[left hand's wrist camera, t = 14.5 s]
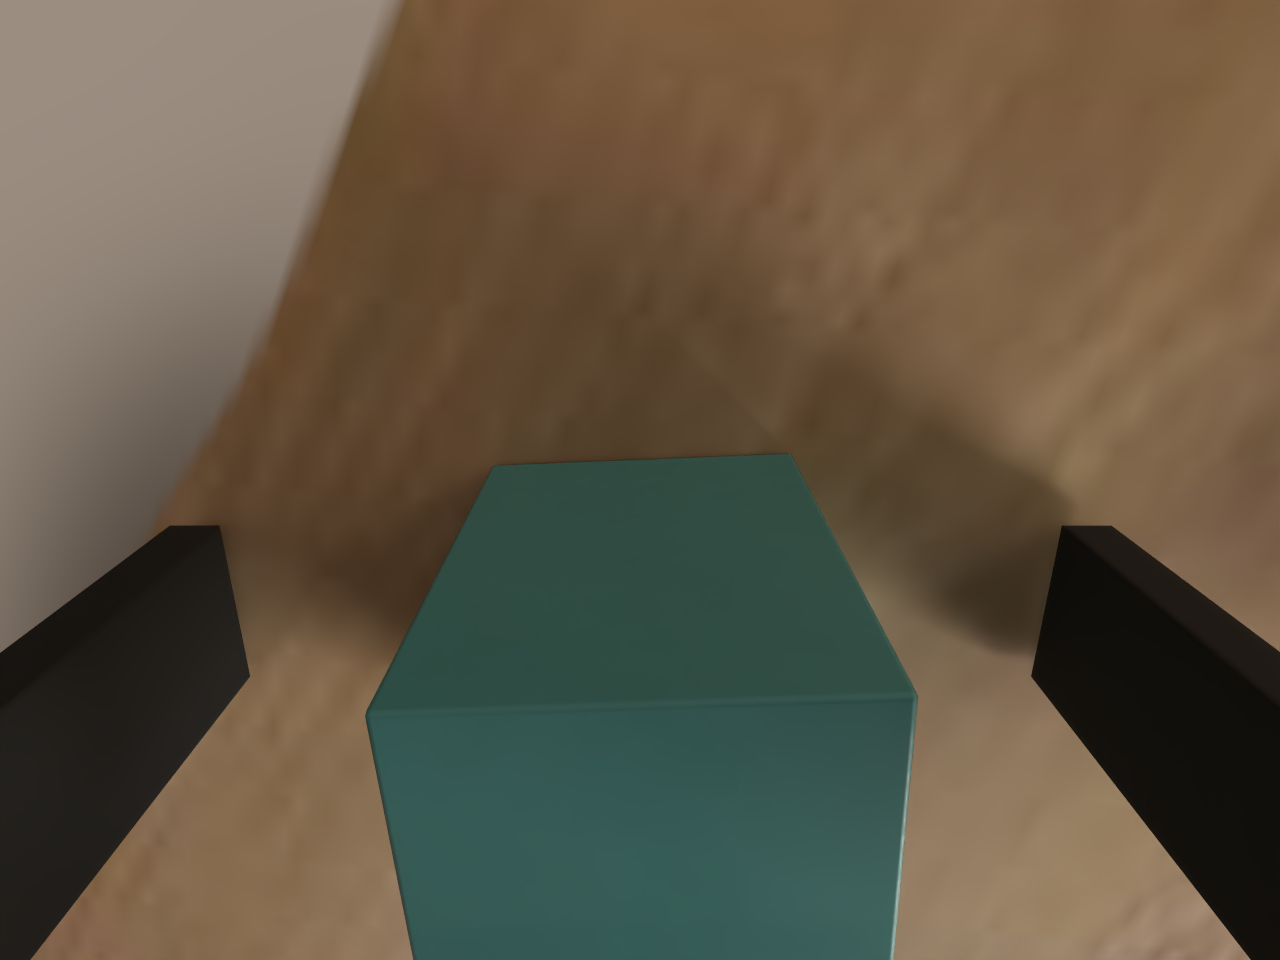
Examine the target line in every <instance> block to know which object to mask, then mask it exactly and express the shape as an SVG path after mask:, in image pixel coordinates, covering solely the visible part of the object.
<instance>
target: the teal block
mask: <svg viewBox="0 0 1280 960" xmlns="http://www.w3.org/2000/svg"><path fill="white" fill-rule="evenodd" d="M917 702H918V695H917V693H916V691H915V689H914V687H913V685H912V683H911V681H910V679H909V678H908V676H907V674H906V672H905V670H904V668H903V666H902V664H901V662H900V661H899V659H898V657H897V655H896V653H895V651H894V649H893V647H892V645H891V643H890V642H889V640H888V638H887V636H886V634H885V632H884V630H883V628H882V626H881V625H880V623H879V621H878V619H877V617H876V615H875V613H874V611H873V609H872V608H871V606H870V604H869V602H868V600H867V598H866V596H865V594H864V592H863V590H862V589H861V587H860V585H859V583H858V581H857V579H856V577H855V575H854V573H853V572H852V570H851V568H850V566H849V564H848V562H847V560H846V558H845V556H844V555H843V553H842V551H841V549H840V547H839V545H838V543H837V541H836V539H835V537H834V536H833V534H832V532H831V530H830V528H829V526H828V524H827V522H826V520H825V519H824V517H823V515H822V513H821V511H820V509H819V507H818V505H817V503H816V502H815V500H814V498H813V496H812V494H811V492H810V490H809V488H808V486H807V484H806V483H805V481H804V479H803V477H802V475H801V473H800V471H799V469H798V467H797V466H796V464H795V462H794V460H793V458H792V456H791V455H790V454H771V455H746V456H721V457H696V458H671V459H646V460H621V461H596V462H571V463H546V464H521V465H496V466H493V467H492V469H491V471H490V473H489V475H488V477H487V478H486V480H485V482H484V484H483V486H482V488H481V490H480V492H479V494H478V496H477V498H476V500H475V502H474V504H473V506H472V508H471V510H470V511H469V513H468V515H467V517H466V519H465V521H464V523H463V525H462V527H461V529H460V531H459V533H458V535H457V537H456V539H455V541H454V542H453V544H452V546H451V548H450V550H449V552H448V554H447V556H446V558H445V560H444V562H443V564H442V566H441V568H440V570H439V572H438V573H437V575H436V577H435V579H434V581H433V583H432V585H431V587H430V589H429V591H428V593H427V595H426V597H425V599H424V601H423V603H422V604H421V606H420V608H419V610H418V612H417V614H416V616H415V618H414V620H413V622H412V624H411V626H410V628H409V630H408V632H407V634H406V635H405V637H404V639H403V641H402V643H401V645H400V647H399V649H398V651H397V653H396V655H395V657H394V659H393V661H392V663H391V665H390V667H389V668H388V670H387V672H386V674H385V676H384V678H383V680H382V682H381V684H380V686H379V688H378V690H377V692H376V694H375V696H374V698H373V699H372V701H371V703H370V705H369V707H368V709H367V711H366V715H365V717H366V723H367V728H368V733H369V738H370V743H371V748H372V753H373V758H374V763H375V768H376V773H377V778H378V783H379V788H380V793H381V799H382V804H383V809H384V814H385V819H386V824H387V829H388V834H389V839H390V844H391V849H392V854H393V859H394V864H395V869H396V874H397V879H398V884H399V889H400V894H401V899H402V904H403V909H404V915H405V920H406V925H407V930H408V935H409V940H410V945H411V950H412V955H413V960H893V958H894V947H895V937H896V926H897V915H898V905H899V894H900V883H901V873H902V862H903V851H904V841H905V830H906V819H907V809H908V798H909V788H910V777H911V766H912V756H913V745H914V734H915V724H916V713H917Z"/></svg>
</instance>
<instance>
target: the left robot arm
mask: <svg viewBox="0 0 1280 960" xmlns="http://www.w3.org/2000/svg"><path fill="white" fill-rule="evenodd" d="M249 677H250V674H249V669H248V664H247V659H246V654H245V649H244V644H243V639H242V635H241V630H240V625H239V620H238V615H237V610H236V605H235V600H234V595H233V590H232V585H231V581H230V576H229V571H228V566H227V561H226V556H225V551H224V546H223V541H222V536H221V531H220V527H219V526H169V527H168V528H166V529H165V530H164V531H162V532H161V533H160V534H158V535H157V536H156V537H154V538H153V539H152V540H150V541H149V542H148V543H146V544H145V545H144V546H142V547H141V548H140V549H138V550H137V551H136V552H134V553H133V554H132V555H130V556H129V557H128V558H126V559H125V560H124V561H122V562H121V563H120V564H118V565H117V566H116V567H114V568H113V569H112V570H110V571H109V572H108V573H106V574H105V575H104V576H102V577H101V578H100V579H98V580H97V581H96V582H94V583H93V584H92V585H90V586H89V587H88V588H86V589H85V590H84V591H82V592H81V593H80V594H78V595H77V596H76V597H74V598H73V599H72V600H70V601H69V602H68V603H66V604H65V605H64V606H62V607H61V608H60V609H58V610H57V611H56V612H54V613H53V614H52V615H50V616H49V617H48V618H46V619H45V620H44V621H42V622H41V623H39V624H38V625H37V626H35V627H34V628H33V629H31V630H30V631H29V632H28V633H26V634H25V635H24V636H22V637H21V638H19V639H18V640H17V641H15V642H14V643H13V644H11V645H10V646H9V647H7V648H6V649H5V650H4V651H2V652H1V653H0V960H30V959H31V958H32V957H33V956H34V954H35V953H36V952H37V950H38V949H39V948H40V947H41V945H42V944H43V943H44V941H45V940H46V939H47V938H48V936H49V935H50V934H51V932H52V931H53V930H54V929H55V927H56V926H57V925H58V923H59V922H60V921H61V919H62V918H63V917H64V916H65V914H66V913H67V912H68V910H69V909H70V908H71V907H72V905H73V904H74V903H75V901H76V900H77V899H78V898H79V896H80V895H81V894H82V892H83V891H84V890H85V889H86V887H87V886H88V885H89V883H90V882H91V881H92V880H93V878H94V877H95V876H96V874H97V873H98V872H99V870H100V869H101V868H102V867H103V865H104V864H105V863H106V861H107V860H108V859H109V858H110V856H111V855H112V854H113V852H114V851H115V850H116V849H117V847H118V846H119V845H120V843H121V842H122V841H123V840H124V838H125V837H126V836H127V834H128V833H129V832H130V830H131V829H132V828H133V827H134V825H135V824H136V823H137V821H138V820H139V819H140V818H141V816H142V815H143V814H144V812H145V811H146V810H147V809H148V807H149V806H150V805H151V803H152V802H153V801H154V800H155V798H156V797H157V796H158V794H159V793H160V792H161V791H162V789H163V788H164V787H165V785H166V784H167V783H168V781H169V780H170V779H171V778H172V776H173V775H174V774H175V772H176V771H177V770H178V769H179V767H180V766H181V765H182V763H183V762H184V761H185V760H186V758H187V757H188V756H189V754H190V753H191V752H192V751H193V749H194V748H195V747H196V745H197V744H198V743H199V741H200V740H201V739H202V738H203V736H204V735H205V734H206V732H207V731H208V730H209V729H210V727H211V726H212V725H213V723H214V722H215V721H216V720H217V718H218V717H219V716H220V714H221V713H222V712H223V711H224V709H225V708H226V707H227V705H228V704H229V703H230V702H231V700H232V699H233V698H234V696H235V695H236V694H237V692H238V691H239V690H240V689H241V687H242V686H243V685H244V683H245V682H246V681H247V680H248V678H249ZM1031 677H1032V678H1033V679H1034V681H1035V682H1036V683H1037V685H1038V686H1039V687H1040V688H1041V690H1042V691H1043V692H1044V694H1045V695H1046V696H1047V697H1048V699H1049V700H1050V701H1051V703H1052V704H1053V705H1054V707H1055V708H1056V709H1057V710H1058V712H1059V713H1060V714H1061V716H1062V717H1063V718H1064V719H1065V721H1066V722H1067V723H1068V725H1069V726H1070V727H1071V728H1072V730H1073V731H1074V732H1075V734H1076V735H1077V736H1078V737H1079V739H1080V740H1081V741H1082V743H1083V744H1084V745H1085V746H1086V748H1087V749H1088V750H1089V752H1090V753H1091V754H1092V756H1093V757H1094V758H1095V759H1096V761H1097V762H1098V763H1099V765H1100V766H1101V767H1102V768H1103V770H1104V771H1105V772H1106V774H1107V775H1108V776H1109V777H1110V779H1111V780H1112V781H1113V783H1114V784H1115V785H1116V786H1117V788H1118V789H1119V790H1120V792H1121V793H1122V794H1123V795H1124V797H1125V798H1126V799H1127V801H1128V802H1129V803H1130V805H1131V806H1132V807H1133V808H1134V810H1135V811H1136V812H1137V814H1138V815H1139V816H1140V817H1141V819H1142V820H1143V821H1144V823H1145V824H1146V825H1147V826H1148V828H1149V829H1150V830H1151V832H1152V833H1153V834H1154V835H1155V837H1156V838H1157V839H1158V841H1159V842H1160V843H1161V845H1162V846H1163V847H1164V848H1165V850H1166V851H1167V852H1168V854H1169V855H1170V856H1171V857H1172V859H1173V860H1174V861H1175V863H1176V864H1177V865H1178V866H1179V868H1180V869H1181V870H1182V872H1183V873H1184V874H1185V875H1186V877H1187V878H1188V879H1189V881H1190V882H1191V883H1192V884H1193V886H1194V887H1195V888H1196V890H1197V891H1198V892H1199V894H1200V895H1201V896H1202V897H1203V899H1204V900H1205V901H1206V903H1207V904H1208V905H1209V906H1210V908H1211V909H1212V910H1213V912H1214V913H1215V914H1216V915H1217V917H1218V918H1219V919H1220V921H1221V922H1222V923H1223V924H1224V926H1225V927H1226V928H1227V930H1228V931H1229V932H1230V933H1231V935H1232V936H1233V937H1234V939H1235V940H1236V941H1237V943H1238V944H1239V945H1240V946H1241V948H1242V949H1243V950H1244V952H1245V953H1246V954H1247V955H1248V957H1249V958H1250V959H1251V960H1280V652H1279V651H1278V650H1276V649H1275V648H1274V647H1272V646H1271V645H1270V644H1268V643H1267V642H1266V641H1264V640H1263V639H1262V638H1260V637H1259V636H1258V635H1256V634H1255V633H1254V632H1252V631H1251V630H1250V629H1248V628H1247V627H1246V626H1244V625H1243V624H1242V623H1240V622H1239V621H1238V620H1236V619H1235V618H1234V617H1232V616H1231V615H1230V614H1228V613H1227V612H1226V611H1224V610H1223V609H1222V608H1220V607H1219V606H1218V605H1216V604H1215V603H1214V602H1212V601H1211V600H1210V599H1208V598H1207V597H1206V596H1204V595H1203V594H1202V593H1200V592H1199V591H1198V590H1196V589H1195V588H1194V587H1192V586H1191V585H1190V584H1188V583H1187V582H1186V581H1184V580H1183V579H1182V578H1180V577H1179V576H1178V575H1176V574H1175V573H1174V572H1172V571H1171V570H1170V569H1168V568H1167V567H1166V566H1164V565H1163V564H1162V563H1160V562H1159V561H1158V560H1156V559H1155V558H1154V557H1152V556H1151V555H1150V554H1148V553H1147V552H1146V551H1144V550H1143V549H1142V548H1140V547H1139V546H1138V545H1136V544H1135V543H1134V542H1132V541H1131V540H1130V539H1128V538H1127V537H1126V536H1124V535H1123V534H1122V533H1120V532H1119V531H1118V530H1116V529H1115V528H1114V527H1112V526H1062V528H1061V533H1060V538H1059V543H1058V548H1057V553H1056V558H1055V562H1054V567H1053V572H1052V577H1051V582H1050V587H1049V592H1048V597H1047V602H1046V607H1045V611H1044V616H1043V621H1042V626H1041V631H1040V636H1039V641H1038V646H1037V651H1036V655H1035V660H1034V665H1033V670H1032V675H1031Z"/></svg>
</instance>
